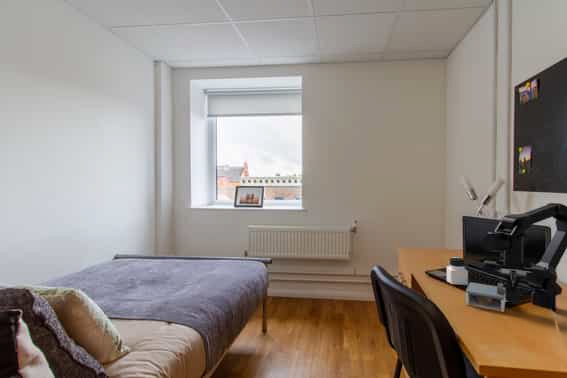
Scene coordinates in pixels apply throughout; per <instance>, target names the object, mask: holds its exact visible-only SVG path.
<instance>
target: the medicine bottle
mask: <svg viewBox="0 0 567 378" xmlns="http://www.w3.org/2000/svg"><path fill="white" fill-rule="evenodd" d="M465 263H466V262H465V259H464V258H462V257H455V256H454V257H453V256H452V257H450V258H449V266H448V265H447V266H446V282H447V283H450V285H463V286H468V285H469V271H468V269H466V268H465Z"/></svg>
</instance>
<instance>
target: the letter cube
mask: <svg viewBox="0 0 567 378" xmlns="http://www.w3.org/2000/svg"><path fill="white" fill-rule="evenodd" d="M479 304H480V305H486V306H492V297H487V296H481V295H479Z"/></svg>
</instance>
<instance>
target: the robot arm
mask: <svg viewBox="0 0 567 378" xmlns="http://www.w3.org/2000/svg"><path fill="white" fill-rule="evenodd" d="M551 218H553V219H554V220H555V222H554V223H555V227H556V231H555V233H554V234H553V236H552V239H551V241H550V242H549V244H548V246H547V248H546V250H545V252H544V254H543V255H542V257H541V259H540V261H539V262H538V263H536V264H535V263H530V265H529V267H524V239H528V238H529V235H528V234H526V233H525V232H526V231H527V230H530V228H531V227H532V226H533V225H534V224H537V223H540V222H542V221H544V220H547V219H551ZM482 245H483V247H484V249H485V250H486V251H488V252H500V253H499V254H500V255H499V260H500V262H503V264H498V263H497V261H493V260H485V261H484V262H483V263H482V270H483V271H485V272H492V273H493V272H495V270H499V271H500V275H501V276H503V277H505V279H506V281H507V284H508V286H509V288H510V292H511V293H515V292H516V290H517V287H518V286H519V284H520V283H521V281H522V279H526V282H527V285H528V287H529V288H530V289H533V291H532V292H531V304H532V305H533V306H537V307H540V308H544V309H551V310H552V312H557V304H556V303H557V297H558V296H559V295H562V292H563V288H562V287H561V286H560V285H559V283H558V282H557V281H558V273H557V267H558V265H559V264H560V262H561V260H562V258H563V256H564V254H565V252H566V250H567V206H566V204H563V203H561V202H560V203H559V202H558V203H557V202H549V203H547V204H546V205H543V206H540V207H537V208H535V209H534V208H533V209H531V210H529V211H527V212H524V213H516V214H515V213H514V214H508V215H504V216H503V217H501V221H500V222H499V224H498V225H497V226H496V228H495V230H494V232H491V231H490V232H487V235H486V236H484V238H483V240H482ZM512 272H514V273H515V276H514V279H513V278H512ZM513 280H514V281H513Z"/></svg>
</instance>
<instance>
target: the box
mask: <svg viewBox="0 0 567 378" xmlns="http://www.w3.org/2000/svg"><path fill="white" fill-rule="evenodd" d="M495 300H499V301H501V302H498V301H495ZM465 306H471V307H476V308H482V309H487V310H492V311H498V312H502V313H503V312H505V307H506V295H505V296H504V299H498V298H493V297H492V306H486V305H480V304H479V295H475V294H470V293H466V292H465Z"/></svg>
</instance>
